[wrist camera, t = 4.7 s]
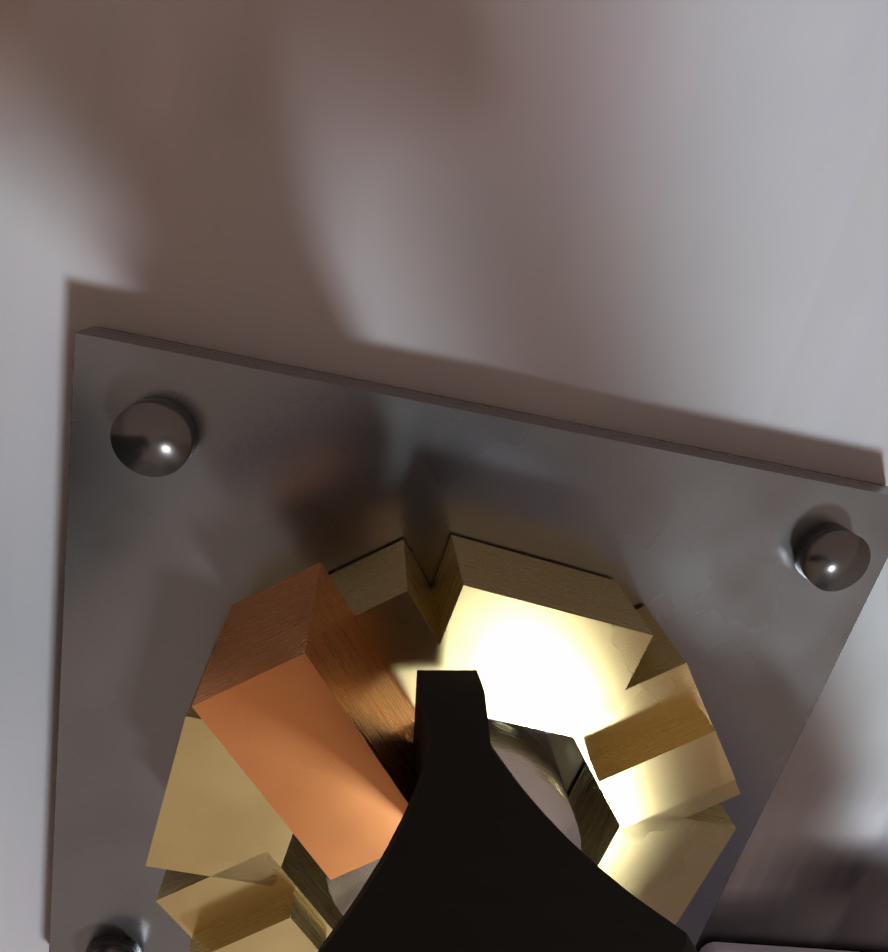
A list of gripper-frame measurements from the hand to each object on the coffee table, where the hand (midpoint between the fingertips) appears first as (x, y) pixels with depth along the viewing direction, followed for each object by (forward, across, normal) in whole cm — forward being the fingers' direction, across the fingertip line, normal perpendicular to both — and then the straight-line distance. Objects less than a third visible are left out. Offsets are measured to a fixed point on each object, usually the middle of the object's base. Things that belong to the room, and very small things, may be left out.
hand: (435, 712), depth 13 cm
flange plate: (+5, -1, +5) cm, 7 cm away
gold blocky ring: (+4, 0, +4) cm, 6 cm away
